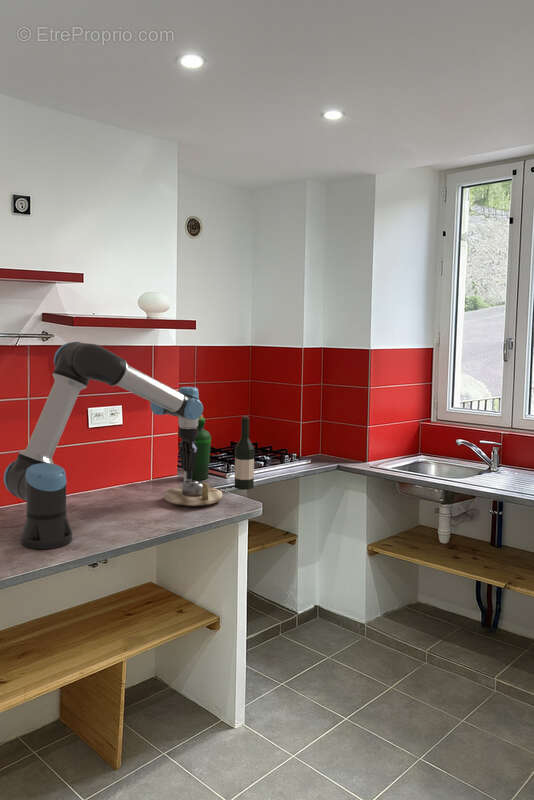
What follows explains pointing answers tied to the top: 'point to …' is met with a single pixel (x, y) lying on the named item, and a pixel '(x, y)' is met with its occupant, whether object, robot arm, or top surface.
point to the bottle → (202, 452)
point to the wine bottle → (244, 459)
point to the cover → (192, 488)
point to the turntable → (207, 497)
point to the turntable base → (193, 505)
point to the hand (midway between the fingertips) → (187, 486)
